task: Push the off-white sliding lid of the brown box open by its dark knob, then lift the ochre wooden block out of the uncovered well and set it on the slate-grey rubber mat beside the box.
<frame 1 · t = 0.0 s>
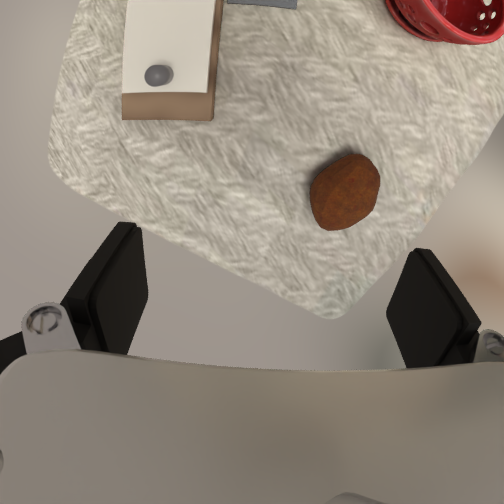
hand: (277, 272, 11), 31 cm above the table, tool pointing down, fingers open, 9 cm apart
potato: (338, 183, 42), on the table
plant pot: (417, 0, 27), on the table
lid: (162, 40, 28), point 5 cm above the table, slide at 0.0 cm
brown box: (176, 14, 30), on the table
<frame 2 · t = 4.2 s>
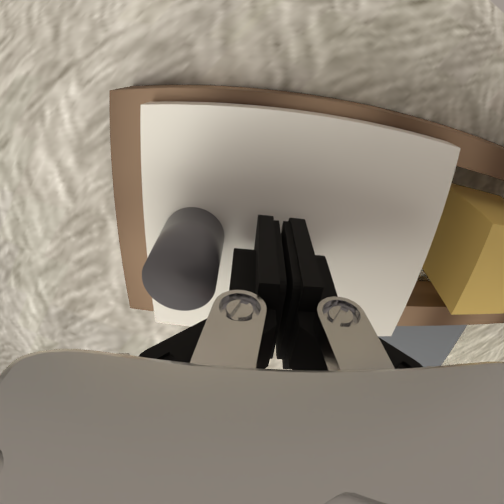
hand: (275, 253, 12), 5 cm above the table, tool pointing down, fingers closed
lid: (299, 257, 12), point 5 cm above the table, slide at 1.7 cm, touching gripper
mat: (412, 345, 21), on the table
brown box: (392, 217, 16), on the table
block: (460, 226, 16), resting in brown box
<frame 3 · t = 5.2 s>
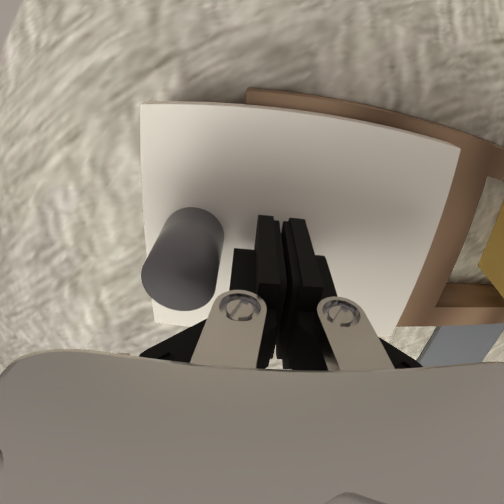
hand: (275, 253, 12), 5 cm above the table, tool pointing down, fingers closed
lid: (299, 258, 12), point 5 cm above the table, slide at 7.1 cm, touching gripper
mat: (462, 343, 22), on the table
brown box: (465, 228, 16), on the table
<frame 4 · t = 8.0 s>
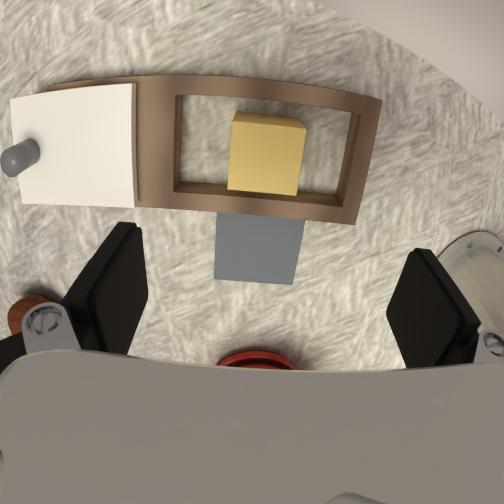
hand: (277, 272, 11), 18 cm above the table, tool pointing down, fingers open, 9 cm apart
potato: (53, 309, 37), on the table
plant pot: (257, 369, 42), on the table
lid: (59, 153, 21), point 5 cm above the table, slide at 7.0 cm
mat: (257, 246, 31), on the table
brown box: (203, 139, 26), on the table
block: (263, 143, 26), resting in brown box
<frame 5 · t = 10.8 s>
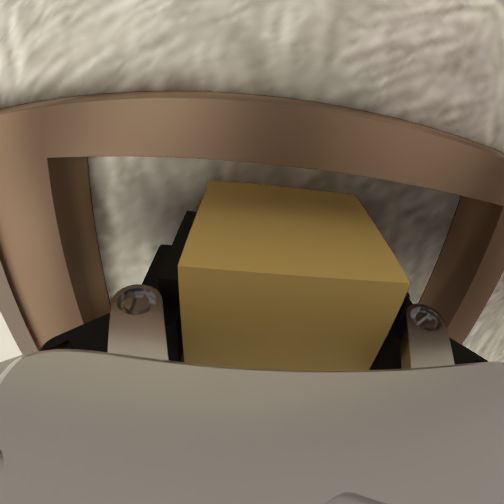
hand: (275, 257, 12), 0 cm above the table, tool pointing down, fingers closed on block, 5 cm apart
brown box: (142, 240, 12), on the table
block: (275, 250, 12), resting in brown box, touching gripper
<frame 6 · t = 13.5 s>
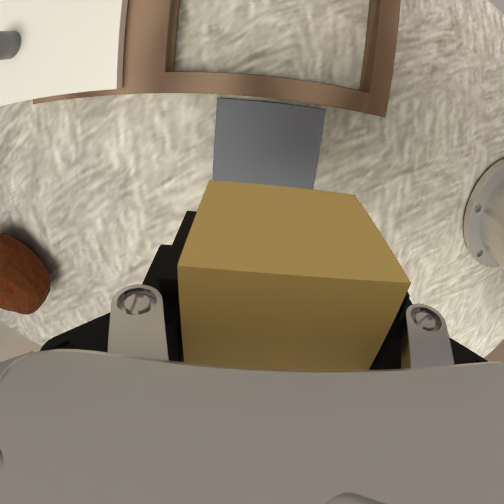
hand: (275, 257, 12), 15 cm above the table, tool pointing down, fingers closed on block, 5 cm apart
potato: (25, 256, 30), on the table
lid: (40, 33, 14), point 5 cm above the table, slide at 7.0 cm
mat: (266, 152, 24), on the table
brown box: (204, 22, 19), on the table
block: (275, 250, 12), point 15 cm above the table, touching gripper
when the fingers open (2 cm above the table, at t = 16.1 s): block drops 1 cm, resting on mat.
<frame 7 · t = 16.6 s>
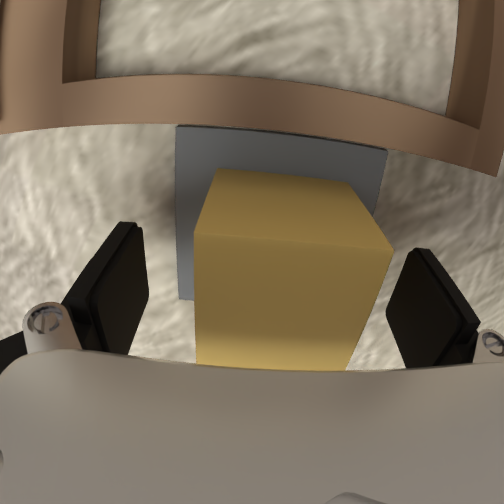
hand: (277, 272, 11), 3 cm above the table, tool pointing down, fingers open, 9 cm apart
mat: (273, 227, 13), on the table
block: (275, 232, 13), resting on mat
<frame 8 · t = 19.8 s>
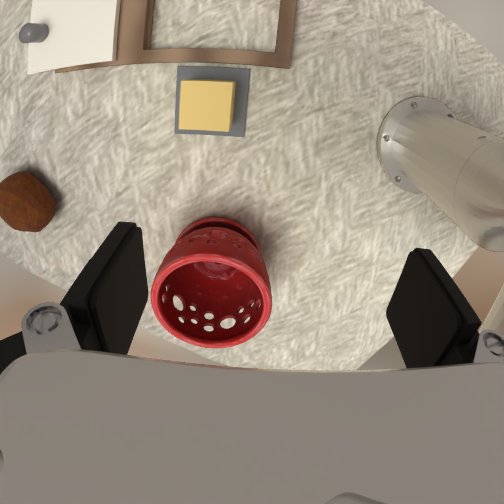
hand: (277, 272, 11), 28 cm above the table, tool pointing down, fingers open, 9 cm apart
potato: (36, 193, 39), on the table
plant pot: (220, 248, 44), on the table
lid: (63, 26, 23), point 5 cm above the table, slide at 7.0 cm
mat: (211, 100, 33), on the table
brown box: (169, 18, 28), on the table
block: (211, 101, 33), resting on mat
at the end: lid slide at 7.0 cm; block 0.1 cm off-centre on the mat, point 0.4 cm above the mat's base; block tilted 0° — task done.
